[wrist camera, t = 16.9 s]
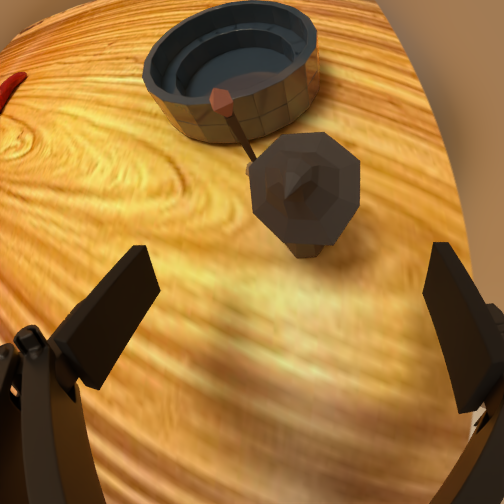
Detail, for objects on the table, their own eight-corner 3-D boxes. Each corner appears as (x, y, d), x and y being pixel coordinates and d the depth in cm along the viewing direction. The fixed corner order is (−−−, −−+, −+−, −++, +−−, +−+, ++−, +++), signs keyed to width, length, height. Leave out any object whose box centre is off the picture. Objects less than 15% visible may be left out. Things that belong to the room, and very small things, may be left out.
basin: (340, 55, 26) (339, 11, 21) (278, 169, 24) (266, 124, 19) (216, 35, 31) (202, -1, 25) (141, 127, 29) (112, 93, 23)
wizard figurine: (357, 217, 22) (388, 114, 11) (329, 286, 21) (345, 236, 10) (259, 180, 24) (213, 72, 13) (227, 242, 24) (150, 164, 12)
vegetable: (-12, 112, 37) (25, 68, 40) (-24, 109, 36) (11, 66, 40) (-3, 125, 41) (31, 81, 44) (-15, 121, 40) (18, 79, 44)
